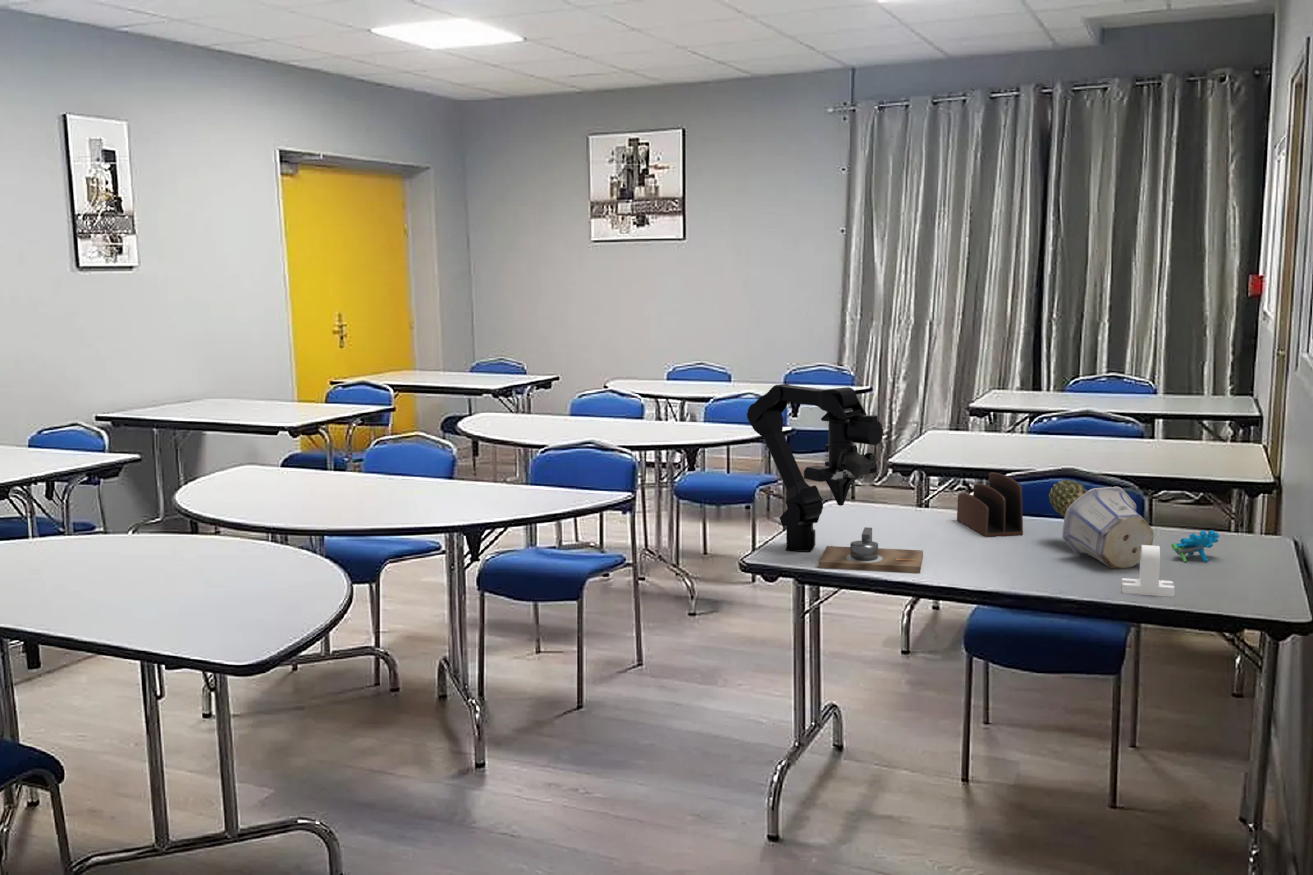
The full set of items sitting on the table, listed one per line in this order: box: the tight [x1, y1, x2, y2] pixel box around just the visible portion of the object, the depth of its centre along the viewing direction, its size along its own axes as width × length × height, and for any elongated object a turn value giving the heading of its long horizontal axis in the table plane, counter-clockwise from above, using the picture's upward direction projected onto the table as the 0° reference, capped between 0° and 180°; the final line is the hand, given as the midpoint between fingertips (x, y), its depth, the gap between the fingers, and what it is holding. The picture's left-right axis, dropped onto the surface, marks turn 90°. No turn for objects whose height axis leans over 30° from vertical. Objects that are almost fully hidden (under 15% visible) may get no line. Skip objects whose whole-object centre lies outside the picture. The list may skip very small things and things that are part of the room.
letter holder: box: [956, 471, 1024, 538], centre depth 290 cm, size 10×20×14 cm, turn 7°
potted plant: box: [1048, 479, 1155, 570], centre depth 261 cm, size 18×18×30 cm
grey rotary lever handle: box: [849, 526, 879, 560], centre depth 261 cm, size 13×6×4 cm, turn 164°
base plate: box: [818, 545, 924, 574], centre depth 260 cm, size 23×15×2 cm, turn 74°
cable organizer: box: [1121, 544, 1175, 598], centre depth 231 cm, size 5×10×10 cm, turn 70°
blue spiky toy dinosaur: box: [1170, 529, 1220, 563], centre depth 255 cm, size 11×6×10 cm
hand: (840, 505), depth 263 cm, fingers closed
